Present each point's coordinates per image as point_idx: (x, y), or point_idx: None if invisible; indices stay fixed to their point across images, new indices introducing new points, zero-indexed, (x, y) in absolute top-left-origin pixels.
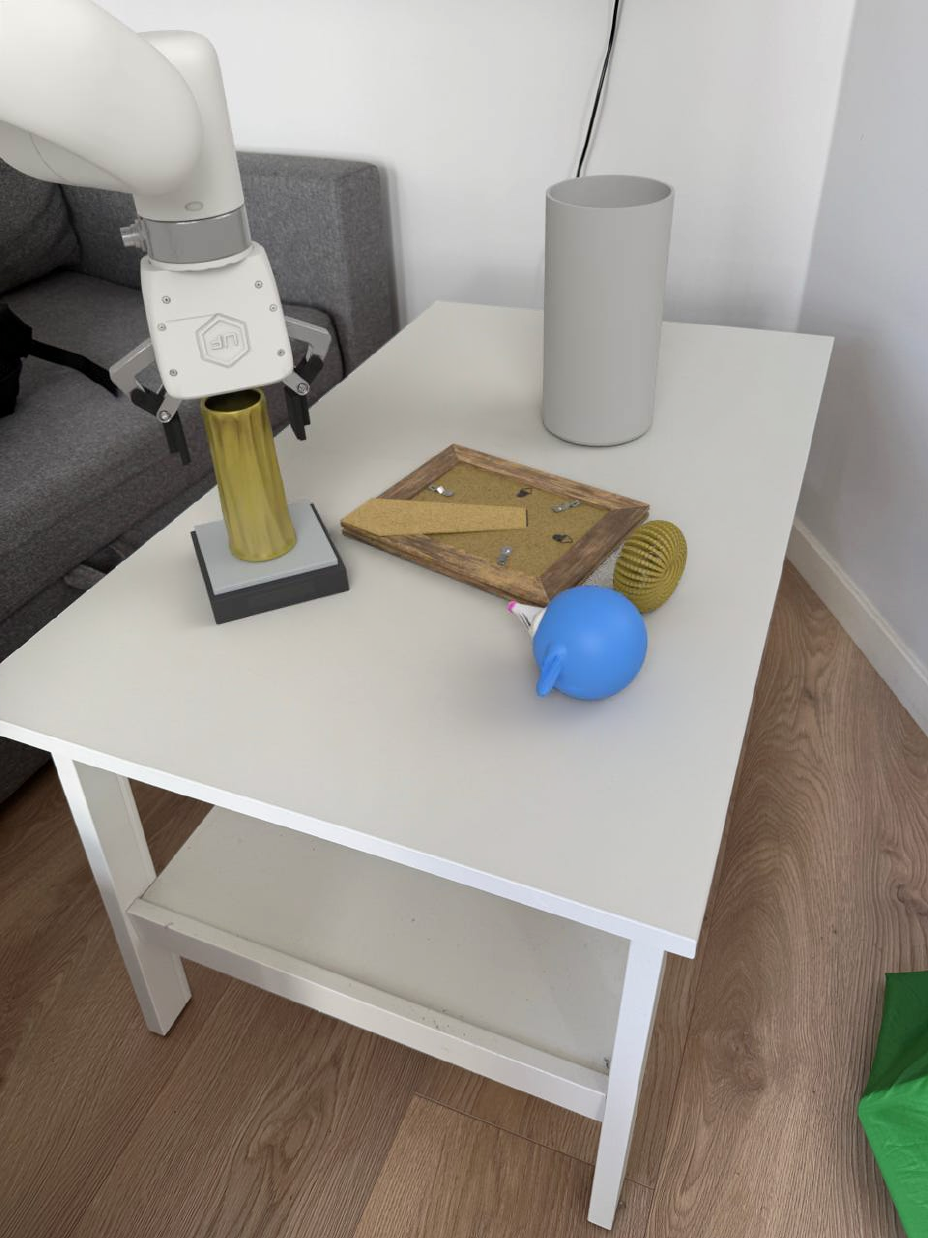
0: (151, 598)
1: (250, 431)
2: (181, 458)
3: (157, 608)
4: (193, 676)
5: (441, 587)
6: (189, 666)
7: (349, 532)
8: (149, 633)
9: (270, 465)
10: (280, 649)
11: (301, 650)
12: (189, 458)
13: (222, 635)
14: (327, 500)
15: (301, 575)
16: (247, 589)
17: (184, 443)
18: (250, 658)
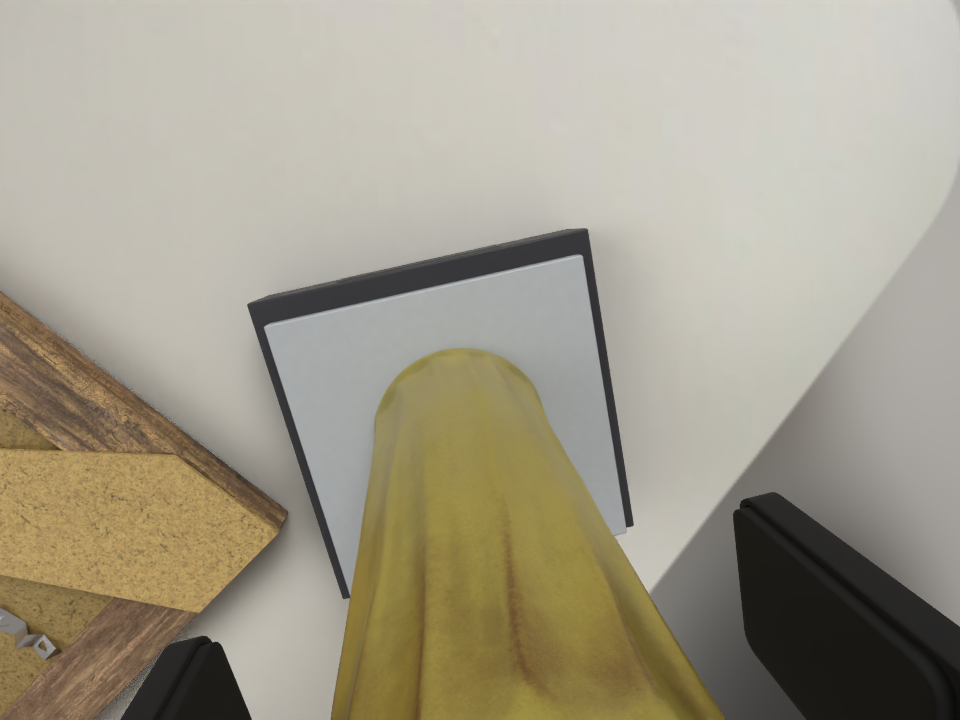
0: (701, 354)
1: (433, 618)
2: (796, 509)
3: (689, 317)
4: (616, 53)
5: (30, 262)
6: (625, 92)
7: (265, 504)
8: (706, 232)
9: (380, 523)
10: (427, 104)
11: (378, 88)
12: (754, 515)
13: (556, 189)
14: (328, 646)
15: (364, 294)
16: (499, 261)
17: (819, 569)
18: (494, 87)
